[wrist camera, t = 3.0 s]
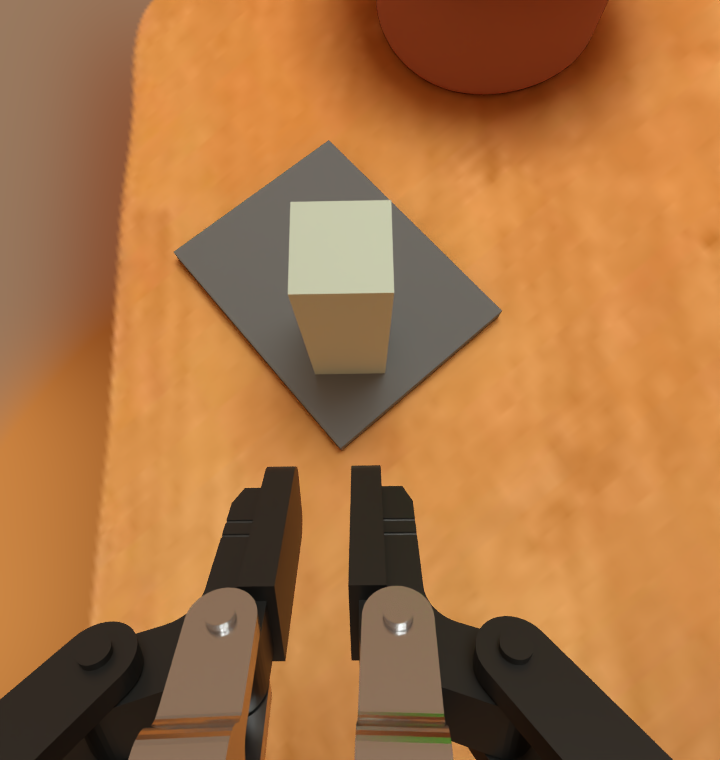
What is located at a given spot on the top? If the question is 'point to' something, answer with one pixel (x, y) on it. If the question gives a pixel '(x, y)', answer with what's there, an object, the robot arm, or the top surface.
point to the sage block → (342, 283)
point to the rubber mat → (275, 313)
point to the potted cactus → (488, 39)
